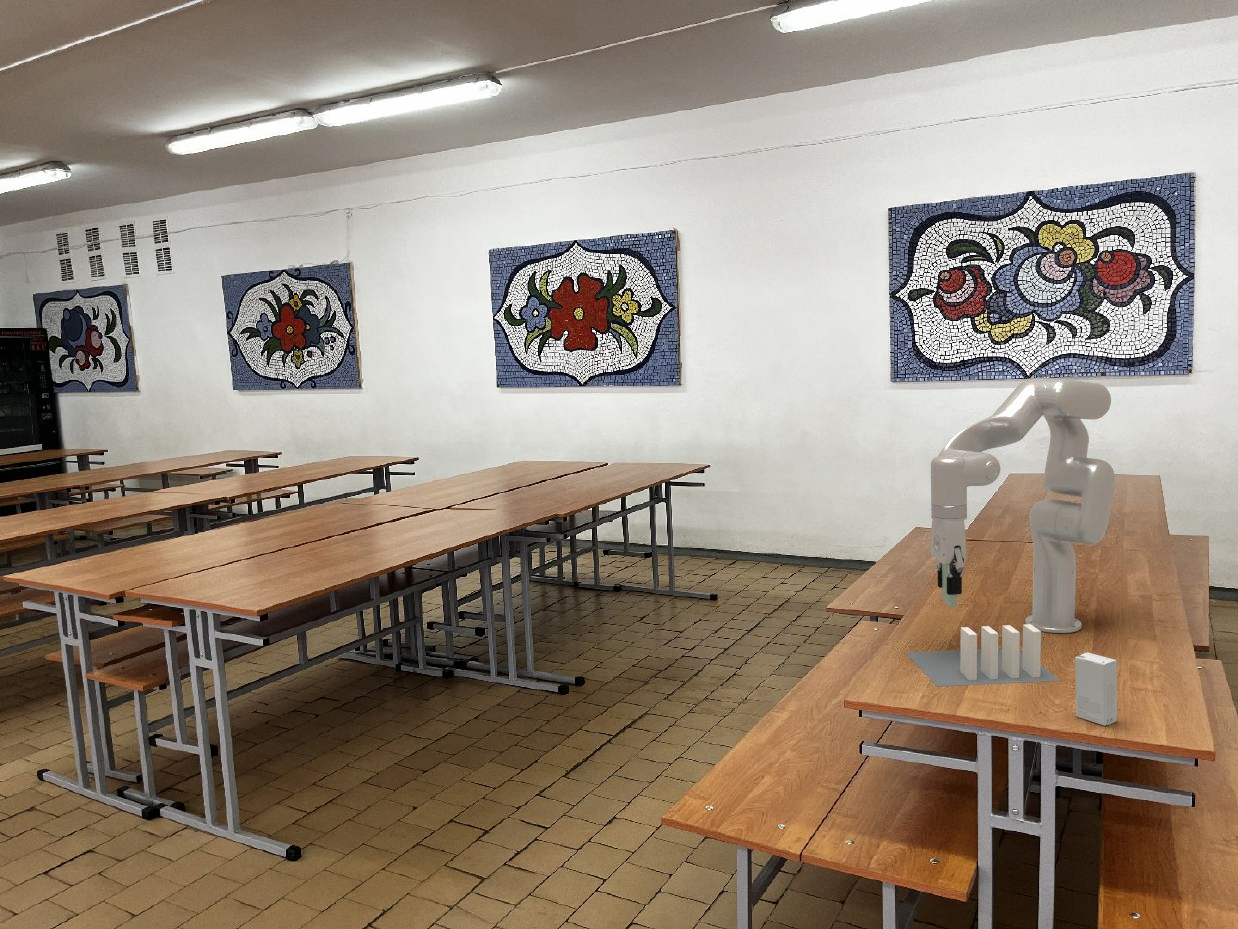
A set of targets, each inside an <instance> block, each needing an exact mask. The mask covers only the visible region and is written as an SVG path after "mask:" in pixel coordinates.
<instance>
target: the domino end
mask: <svg viewBox="0 0 1238 929" xmlns="http://www.w3.org/2000/svg"><path fill="white" fill-rule="evenodd" d="M951 563H956V562H955V560H954V561H951ZM951 568H952V569H953V568H955V566H951ZM946 577H948V569H947V565H944V564H942V588H941V590H942V591H941V592H942V594H941V596H942V597H941V599H942V602H943V603H944V604H945V605H947V606H948V607H949V608H958V594H956V595H948V594H947V578H946Z"/></svg>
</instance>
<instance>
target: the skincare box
mask: <svg viewBox="0 0 1238 929" xmlns="http://www.w3.org/2000/svg"><path fill="white" fill-rule="evenodd" d="M1074 661H1075V662H1074V663H1075V664H1074V665H1075V666H1074V667H1075V669H1074V670H1075V671H1074V673H1075V716H1076V717H1077V718H1079V719H1083V720H1086V721H1089V722H1092V723H1094V724H1095V723H1096V724H1099V725H1101V726H1105V727H1106V725H1107V726H1110V725H1112V724H1113V723H1117V721H1118V660H1117V659H1114V658H1109V657H1107V656H1103V655H1098V654H1094V653H1091V652H1084V653H1082V654H1080V655H1077V656H1075V657H1074Z"/></svg>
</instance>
